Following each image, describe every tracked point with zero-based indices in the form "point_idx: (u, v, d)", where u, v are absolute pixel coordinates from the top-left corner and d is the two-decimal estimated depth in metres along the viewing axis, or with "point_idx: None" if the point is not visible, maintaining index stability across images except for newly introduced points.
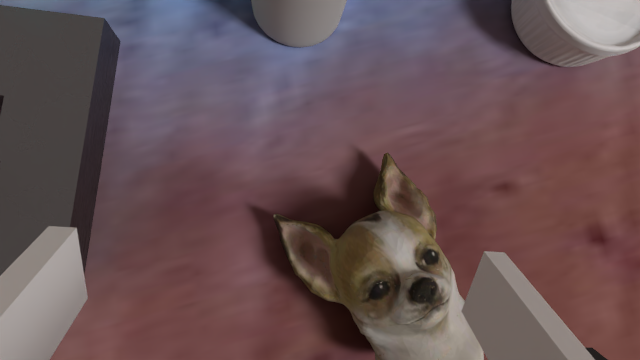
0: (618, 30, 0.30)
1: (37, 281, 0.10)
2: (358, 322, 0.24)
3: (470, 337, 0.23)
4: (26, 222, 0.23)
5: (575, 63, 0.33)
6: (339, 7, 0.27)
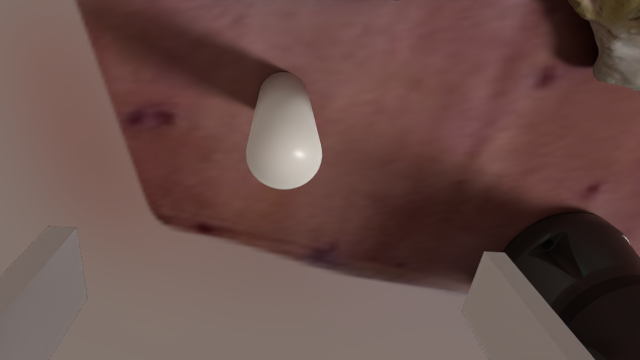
0: None
1: (37, 281, 0.10)
2: (610, 37, 0.31)
3: None
4: None
5: None
6: None
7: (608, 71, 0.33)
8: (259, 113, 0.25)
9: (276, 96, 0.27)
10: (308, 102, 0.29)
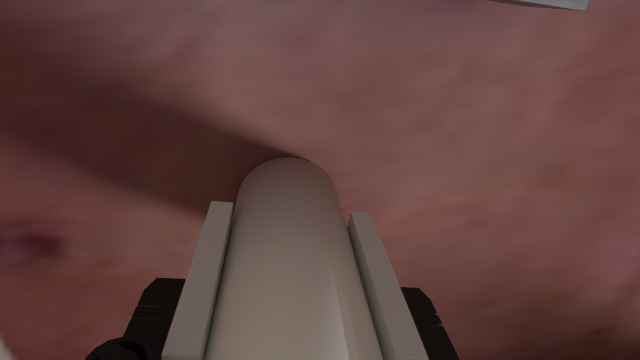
0: None
1: (225, 241, 0.12)
2: None
3: None
4: None
5: None
6: None
7: None
8: None
9: (272, 314, 0.08)
10: (358, 282, 0.11)
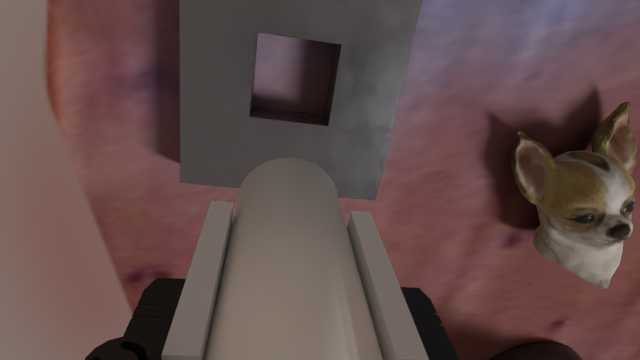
0: None
1: (225, 241, 0.12)
2: (548, 224, 0.34)
3: (617, 254, 0.34)
4: (356, 150, 0.31)
5: None
6: None
7: (544, 247, 0.36)
8: None
9: (272, 315, 0.08)
10: (358, 282, 0.11)
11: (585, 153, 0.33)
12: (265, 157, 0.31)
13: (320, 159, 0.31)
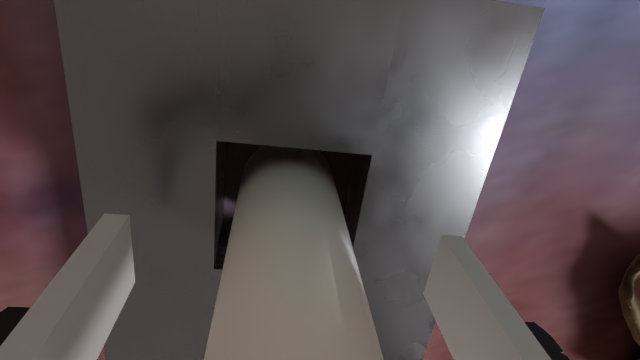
0: None
1: (103, 262, 0.11)
2: None
3: None
4: (393, 304, 0.19)
5: None
6: None
7: None
8: (224, 338, 0.09)
9: (274, 256, 0.10)
10: (347, 239, 0.13)
11: None
12: None
13: None
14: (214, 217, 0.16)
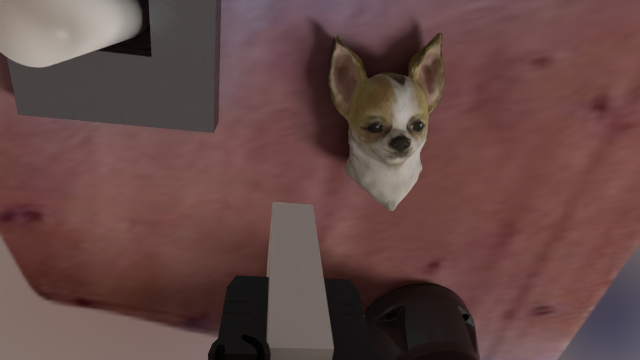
0: None
1: (294, 240, 0.13)
2: (350, 136, 0.35)
3: (408, 179, 0.36)
4: (184, 81, 0.33)
5: None
6: None
7: (349, 165, 0.37)
8: None
9: None
10: None
11: (394, 73, 0.34)
12: (96, 89, 0.32)
13: (150, 91, 0.33)
14: None
